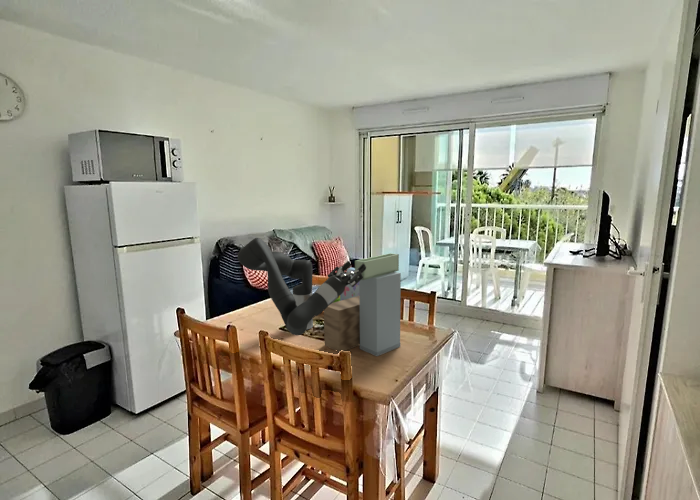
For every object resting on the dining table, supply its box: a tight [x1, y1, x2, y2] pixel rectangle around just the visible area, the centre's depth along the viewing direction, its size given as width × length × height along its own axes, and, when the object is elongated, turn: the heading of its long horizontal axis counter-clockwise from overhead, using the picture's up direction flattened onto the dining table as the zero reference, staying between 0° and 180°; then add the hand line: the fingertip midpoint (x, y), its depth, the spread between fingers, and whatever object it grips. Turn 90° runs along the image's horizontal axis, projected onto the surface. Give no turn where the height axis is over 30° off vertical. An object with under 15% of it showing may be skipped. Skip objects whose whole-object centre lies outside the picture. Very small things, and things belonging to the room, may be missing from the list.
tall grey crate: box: [359, 271, 402, 357], centre depth 160 cm, size 14×10×32 cm
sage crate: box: [354, 252, 400, 280], centre depth 156 cm, size 22×4×7 cm, turn 136°
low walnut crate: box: [323, 296, 360, 353], centre depth 168 cm, size 23×10×18 cm, turn 131°
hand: (357, 264), depth 148 cm, fingers open, 8 cm apart
